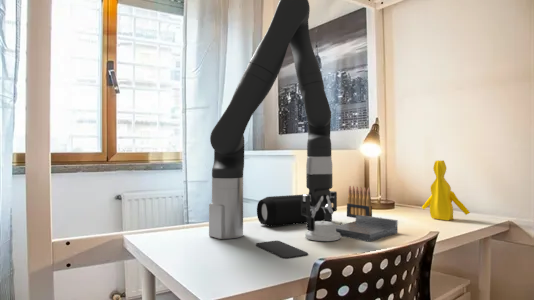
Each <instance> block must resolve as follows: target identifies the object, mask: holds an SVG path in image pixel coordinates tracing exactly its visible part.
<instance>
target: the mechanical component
mask: <svg viewBox="0 0 534 300" xmlns="http://www.w3.org/2000/svg"><path fill="white" fill-rule="evenodd" d="M336 225H337V224H336V223H335V222H333V221H332V222H328V221H324V220H323V221H315V225H314V231H308V230H307V231H306V232H305V238H306V239H308V240H312V241H319V242H333V241H338V240H340V239H341V236H340V233H339V232H336Z"/></svg>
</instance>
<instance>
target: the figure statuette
mask: <svg viewBox="0 0 534 300" xmlns="http://www.w3.org/2000/svg"><path fill="white" fill-rule="evenodd" d="M432 169H433V171H434V174H435V179H434V181H433V182H432V184H431V185H430V192H431V195H430V196H429V197H428V198H427V200H426V201H425V203H424V204H423V205H422V206H421V208H422V210H425V209H426V208H429V214H430V217H431V218H432V219H436V220H441V221H450V220H451V221H452V220H454V208H453V207H454V206H453V204H454V205H456V206H457V207H458V208H459V209H460V210H461V211H462V213H464V215H465V216H467V215H469V214H470V213H471V212H470V211H469V209H468V208H467V207H466V206H465V204H463V202H461V201H460V199H458V197H457V196H456V194H455V192H454V191H452V188H451V185H450V184H449V182H448V181H447V179H446V178H445V174H446V173H447V165H446V162H445V160H435V161H434V164H433V168H432ZM452 202H453V204H452Z"/></svg>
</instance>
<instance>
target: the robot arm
mask: <svg viewBox="0 0 534 300" xmlns="http://www.w3.org/2000/svg"><path fill="white" fill-rule="evenodd" d="M310 9H311V7H310V2H309V0H279V1H278V4H277V6H276V9H275V12H274V13H273V17H272V20H271V22H270V24H269V26H268V28H267V31H266V32H265V34H264V36H263V38H262V40H261V41H260V43H259V44H258V46H257V48H255V51H254V53H253V55H252V57H251V58H250V60H249V62H248V64H247V65H246V68H245V70H244V72H243V73H242V75H241V77H240V80H239V82H238V84H237V87H236V88H235V90H234V93H233V95H232V97H231V99H230V102H229V104H228V106H227V107H226V109H224V110H225V111H224V112H223V113H222V114H221V115H222V116H221V117H220V119H219V120H218V121H217V122H216V124H215V126H214V127H213V129H212V130H211V132H210V138H209V139H210V141H209V142H210V145H211V147H212V149H213V151H214V153H213V156H214V157H213V165H212V169H211V203H209V204H208V236H209V237H211V238H216V239H219V240H225V239H237V238H241V237H243V236H244V169H245V135H244V134H245V132H246V129H247V127H248V125H249V121H250V120H251V119H252V116H253V115H254V113H255V112H256V110H257V109H258V108H259V106H261V104H262V103H263V101H265V99H266V97H267V95H268V94H269V93H270V91H271V89H272V87H273V85H274V83H275V82H276V80H277V78H278V76H279V73H280V71H281V69H282V65H283V63H284V59H285V57H286V53H287V51H288V47H290V51H291V53H292V59H293V63H294V69H295V73H296V78H297V81H298V82H297V83H298V87H299V90H300V93H301V96H302V100H303V105H304V111H305V115H306V119H307V137H308V139H307V142H306V153H307V154H306V156H307V157H306V169H305V170H306V172H305V174H306V180H305V181H306V188H307V189H308V195H306V194H305V193H304V194H300V195H301V215H302V216H306V218H307V223H306V229H307V231H314V225H315V218H314V216H315V214H316V211H318V210H319V208H323V210H324V212H325V213H326V214H324V220H323V221H328V222H332V223H333V214H334V212H337V210H338V201H337V200H338V193H337V191H335V190H333V191H332V190H330V189H332V188H333V160H332V140H331V127H332V126H331V125H332V124H331V123H332V121H331V120H332V111H331V106H330V103H329V100H328V97H327V93H326V91H325V85H324V80H323V75H322V72H321V69H320V68H321V67H320V65H319V62H318V60H317V57H316V54H315V52H314V49H313V46H312V41H311V38H310V29H309V27H310V26H309V18H310V11H311V10H310ZM305 207H306V212H305ZM311 210H312V213H310V212H311Z"/></svg>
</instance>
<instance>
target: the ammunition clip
mask: <svg viewBox="0 0 534 300" xmlns="http://www.w3.org/2000/svg"><path fill="white" fill-rule="evenodd" d="M366 189H367V190H366ZM347 194H348V195H347V203H346V217H348V218H353V219H356V215H364V216H371V217H373V206H372V198H371V189H370V187H369V186H368V188H366V187H365V186H364V187H363V188H362V186H360V187H358V186H356V187H355V186H354V185H353V186H352V187H351V185H349V186H348V192H347Z"/></svg>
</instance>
